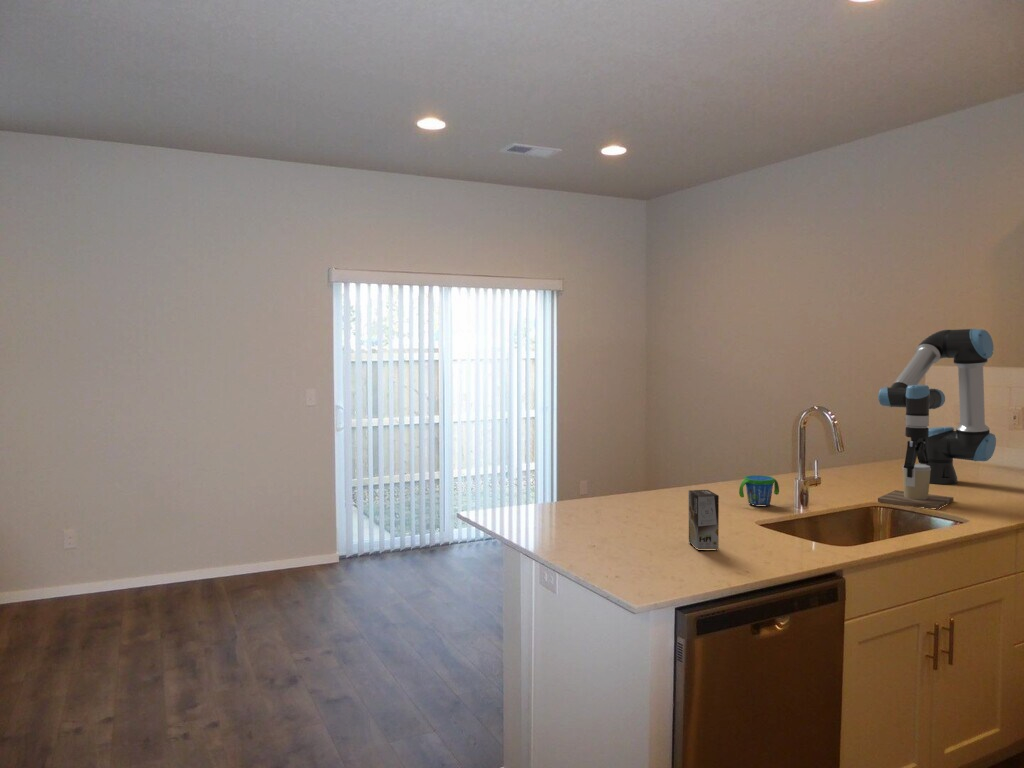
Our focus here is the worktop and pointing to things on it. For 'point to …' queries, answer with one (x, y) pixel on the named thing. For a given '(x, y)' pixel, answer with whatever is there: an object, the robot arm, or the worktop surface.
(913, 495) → the coffee cup
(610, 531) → the worktop surface
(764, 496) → the snack cup
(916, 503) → the walnut board
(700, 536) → the coffee box
